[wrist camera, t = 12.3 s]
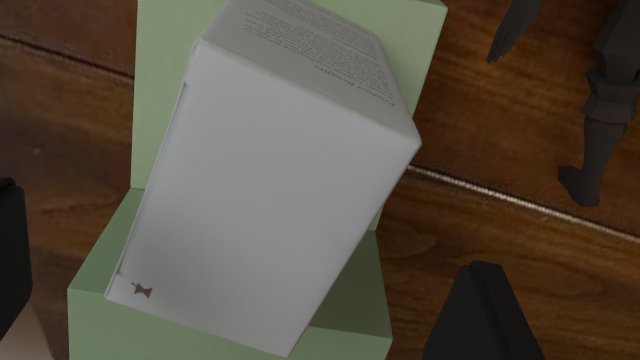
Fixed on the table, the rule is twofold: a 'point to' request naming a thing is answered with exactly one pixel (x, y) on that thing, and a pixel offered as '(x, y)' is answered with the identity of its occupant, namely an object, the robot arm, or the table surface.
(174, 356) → the green l-shaped step
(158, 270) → the small box
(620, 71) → the figurine
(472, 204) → the table surface
